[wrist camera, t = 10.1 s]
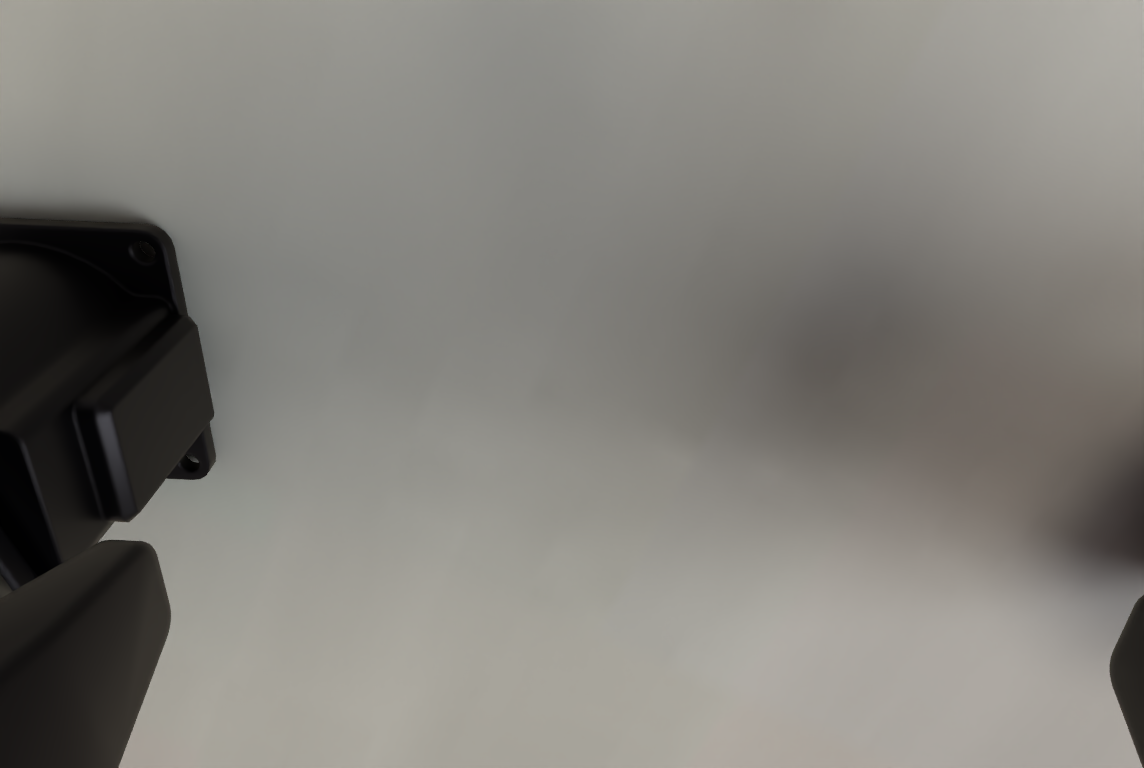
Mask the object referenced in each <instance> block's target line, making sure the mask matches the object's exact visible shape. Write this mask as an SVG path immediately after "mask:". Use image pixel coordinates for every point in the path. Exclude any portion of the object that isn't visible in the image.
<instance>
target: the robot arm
mask: <svg viewBox="0 0 1144 768" xmlns="http://www.w3.org/2000/svg"><path fill="white" fill-rule="evenodd" d="M140 241H143V242H147V243H148V244H149V245H151V246H152V247H153V249H154V251H155V257H152V256H149V255H147V254H146V253H145V252H143V250H142V248H141V246H140ZM213 417H214V409H213V404H212V399H211V394H210V389H209V384H208V379H207V374H206V368H205V363H204V358H203V353H202V348H201V343H200V338H199V333H198V327H197V325H196V324H195V323H194V322H193V320H192V319H191V318H190V317H189V316H188V313H187V308H186V303H185V298H184V293H183V288H182V283H181V278H180V273H179V268H178V263H177V258H176V253H175V248H174V245H173V243H172V240H171V238H170V237H169V236H168V235H167V233H166V232H165V231H163V230H162V229H160V228H158V227H157V226H153V225H149V224H134V223H111V222H88V221H65V220H42V219H18V218H0V768H118V767H119V764H120V762H121V759H122V756H123V754H124V751H125V748H126V746H127V743H128V740H129V738H130V735H131V732H132V730H133V727H134V724H135V722H136V719H137V716H138V713H139V711H140V708H141V705H142V703H143V700H144V697H145V695H146V692H147V689H148V687H149V684H150V681H151V679H152V676H153V673H154V671H155V668H156V665H157V663H158V660H159V657H160V655H161V652H162V649H163V647H164V644H165V641H166V639H167V636H168V632H169V628H170V622H171V609H170V604H169V600H168V596H167V592H166V588H165V584H164V580H163V576H162V572H161V568H160V564H159V561H158V557H157V554H156V551H155V550H154V548H153V547H152V546H151V545H150V544H148V543H146V542H143V541H126V540H105V541H101V542H99V540H100V539H101V538H102V537H103V535H104V534H105V533H106V532H107V530H108V529H109V528H110V527H111V525H112V524H113V523H114V522H115V521H116V522H130V521H131V520H132V519H133V518H134V517H135V516H136V515H137V514H139V513H140V512H141V510H142V509H143V508H144V506H145V505H146V504H147V503H148V501H149V500H150V499H151V497H152V496H153V495H154V493H155V492H156V491H157V490H158V488H159V487H160V486H161V484H162V483H163V482H164V480H165V479H166V478H167V479H188V480H195V479H201V478H203V477H204V476H206V475H207V473H208V472H209V471H210V469H211V468H212V466H213V465H214V463H215V462H216V453H215V448H214V443H213V438H212V433H211V428H210V423H209V422H210V421H211V420H212V418H213ZM187 454H188V455H192V456H194V457H195V458H197V459H198V461H199V463H197V462H193V461H191V460H190V459H189V458H188V457H187ZM98 542H99V543H98ZM1110 677H1111V682H1112V686H1113V689H1114V691H1115V694H1116V697H1117V700H1118V702H1119V705H1120V708H1121V710H1122V713H1123V716H1124V718H1125V721H1126V724H1127V726H1128V729H1129V732H1130V734H1131V737H1132V740H1133V743H1134V745H1135V748H1136V751H1137V753H1138V756H1139V759H1140V761H1141V764H1142V767H1143V768H1144V595H1143V596H1142V597H1141V598H1139V599H1138V600H1137V602H1136V603H1135V605H1134V607H1133V610H1132V612H1131V614H1130V616H1129V618H1128V620H1127V622H1126V625H1125V627H1124V629H1123V631H1122V633H1121V635H1120V638H1119V640H1118V642H1117V644H1116V646H1115V648H1114V650H1113V653H1112V656H1111V660H1110Z"/></svg>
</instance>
